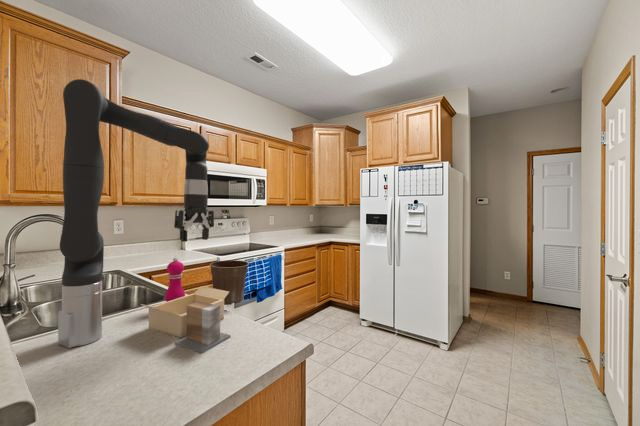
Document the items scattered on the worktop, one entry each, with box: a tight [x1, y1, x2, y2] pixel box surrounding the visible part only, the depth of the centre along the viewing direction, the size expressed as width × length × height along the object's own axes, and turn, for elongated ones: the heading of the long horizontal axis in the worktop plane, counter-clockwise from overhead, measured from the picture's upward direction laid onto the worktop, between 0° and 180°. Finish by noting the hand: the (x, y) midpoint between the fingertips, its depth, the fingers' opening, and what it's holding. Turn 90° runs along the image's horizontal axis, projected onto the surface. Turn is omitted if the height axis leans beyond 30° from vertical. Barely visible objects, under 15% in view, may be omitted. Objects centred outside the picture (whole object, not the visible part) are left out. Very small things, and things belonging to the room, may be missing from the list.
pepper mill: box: [164, 257, 186, 302], centre depth 113 cm, size 7×7×20 cm
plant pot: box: [208, 259, 250, 306], centre depth 123 cm, size 16×16×16 cm
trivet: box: [174, 331, 231, 354], centre depth 87 cm, size 11×11×1 cm
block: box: [185, 301, 221, 345], centre depth 86 cm, size 4×9×10 cm, turn 65°
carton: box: [140, 285, 229, 340], centre depth 99 cm, size 24×16×9 cm, turn 154°
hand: (194, 240), depth 99 cm, fingers open, 8 cm apart
